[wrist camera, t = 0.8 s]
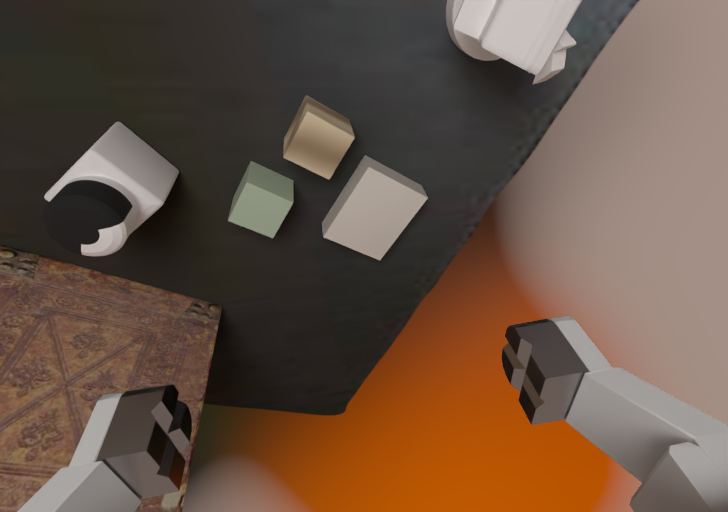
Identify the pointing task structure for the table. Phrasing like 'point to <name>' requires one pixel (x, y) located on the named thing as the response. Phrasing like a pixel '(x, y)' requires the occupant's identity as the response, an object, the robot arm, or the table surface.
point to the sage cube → (261, 200)
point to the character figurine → (514, 32)
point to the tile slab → (373, 209)
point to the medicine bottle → (107, 193)
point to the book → (87, 362)
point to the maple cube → (318, 138)
